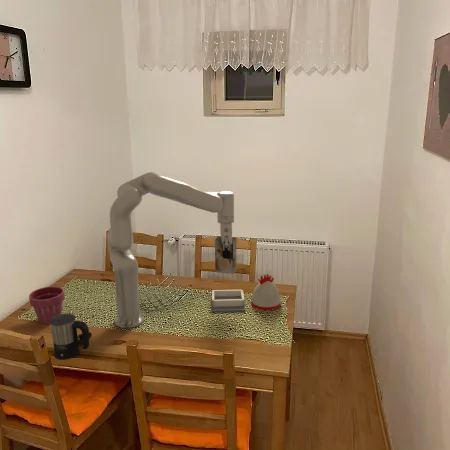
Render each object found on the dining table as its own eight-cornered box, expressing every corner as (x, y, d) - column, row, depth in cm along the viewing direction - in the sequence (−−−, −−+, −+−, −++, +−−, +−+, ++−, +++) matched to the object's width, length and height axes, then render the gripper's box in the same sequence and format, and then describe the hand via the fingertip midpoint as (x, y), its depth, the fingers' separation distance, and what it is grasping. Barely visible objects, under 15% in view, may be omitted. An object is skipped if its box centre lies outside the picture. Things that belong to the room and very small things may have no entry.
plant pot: (36, 330, 189) (32, 302, 186) (29, 317, 201) (26, 291, 197) (70, 321, 197) (67, 294, 194) (62, 309, 208) (59, 283, 205)
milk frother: (52, 362, 166) (48, 326, 162) (56, 341, 181) (52, 307, 177) (92, 356, 170) (88, 321, 166) (92, 336, 184) (89, 303, 180)
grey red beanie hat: (246, 301, 215) (246, 272, 211) (270, 295, 221) (270, 267, 217) (261, 312, 203) (261, 282, 199) (286, 306, 210) (287, 276, 206)
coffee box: (237, 269, 212) (237, 237, 207) (233, 274, 206) (233, 241, 201) (218, 267, 214) (218, 235, 210) (214, 272, 208) (214, 239, 204)
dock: (245, 311, 204) (245, 303, 203) (212, 312, 204) (212, 304, 203) (242, 293, 224) (242, 286, 223) (212, 294, 223) (212, 286, 222)
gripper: (235, 223, 195) (235, 261, 199) (232, 213, 212) (232, 249, 216) (217, 224, 194) (218, 261, 199) (216, 214, 211) (217, 249, 216)
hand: (225, 255), depth 208 cm, fingers closed on coffee box, 7 cm apart
